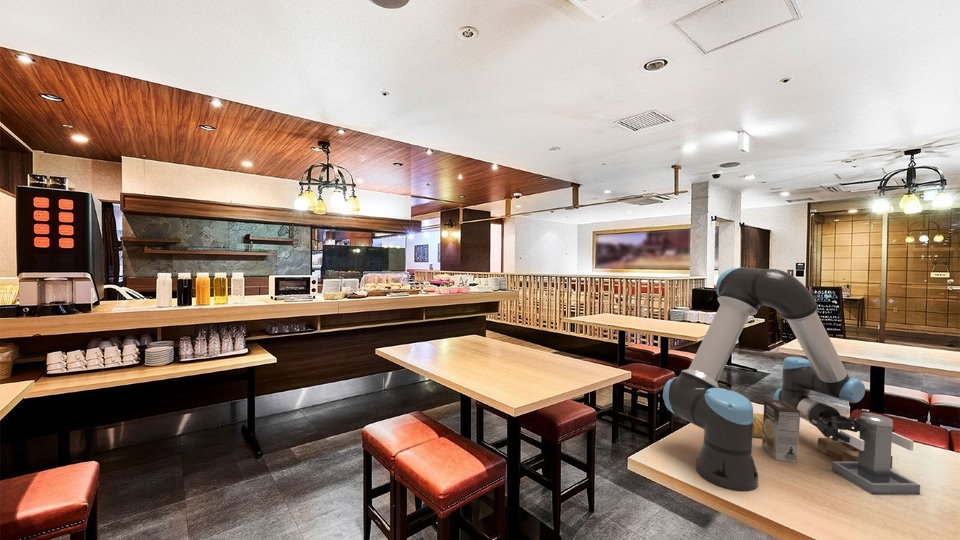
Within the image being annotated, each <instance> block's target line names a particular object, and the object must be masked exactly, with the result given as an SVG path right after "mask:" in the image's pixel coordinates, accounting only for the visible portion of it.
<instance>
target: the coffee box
mask: <svg viewBox="0 0 960 540" xmlns="http://www.w3.org/2000/svg"><path fill="white" fill-rule="evenodd" d="M763 415H764V416H763V438H761V440H762V445H761V446H762V448H763V449H764V450H766V452H767V453H768V454H770V456H771V457H772V458H773V459H774V460H775V461H782V462H783V461H784V462H792V463H798V460H799V459H798V457H799V439H800V438H799V437H800V424H801V417H800V411H799V410H797V409H796V408H795V407H793V406H792V405H790V404H789V403H788V402H786V401H781V400H774V399H764V401H763Z"/></svg>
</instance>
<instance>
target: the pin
mask: <svg viewBox="0 0 960 540" xmlns="http://www.w3.org/2000/svg"><path fill="white" fill-rule="evenodd" d="M859 419H860V432H859V437H858V438H860V439H862V440H864V451H861V450H859V454H858V473H857V474H858V475H860V476H862V477H863V478H865V479H867V480H869V481H870V482H872V483H889V480H890V470H891V468H890V462H891V456H892V428H893V427H894V426H893V425H894V420H893V419H892V418H890V417H888V416H884V415H881V414H878V413H872V412H861V413H860V418H859ZM893 429H894V428H893Z"/></svg>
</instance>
